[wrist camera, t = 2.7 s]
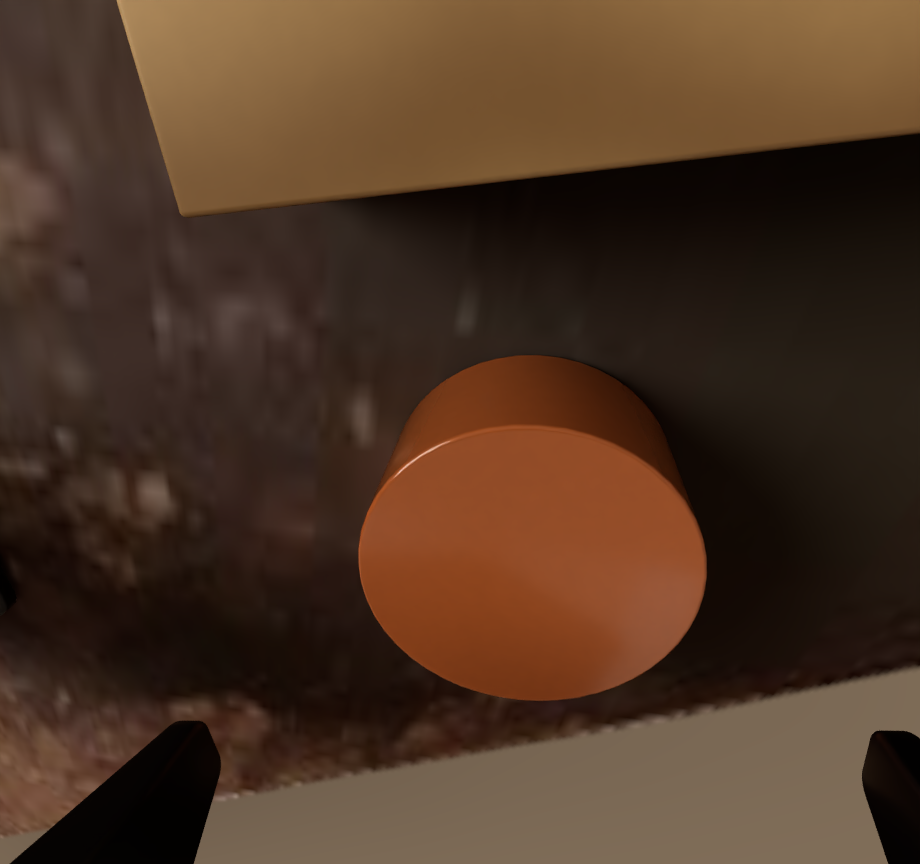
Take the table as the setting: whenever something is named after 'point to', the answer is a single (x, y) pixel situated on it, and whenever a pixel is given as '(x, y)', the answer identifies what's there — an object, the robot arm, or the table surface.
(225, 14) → the maple stand
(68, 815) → the robot arm
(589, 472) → the orange cylinder puck
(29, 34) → the table surface
